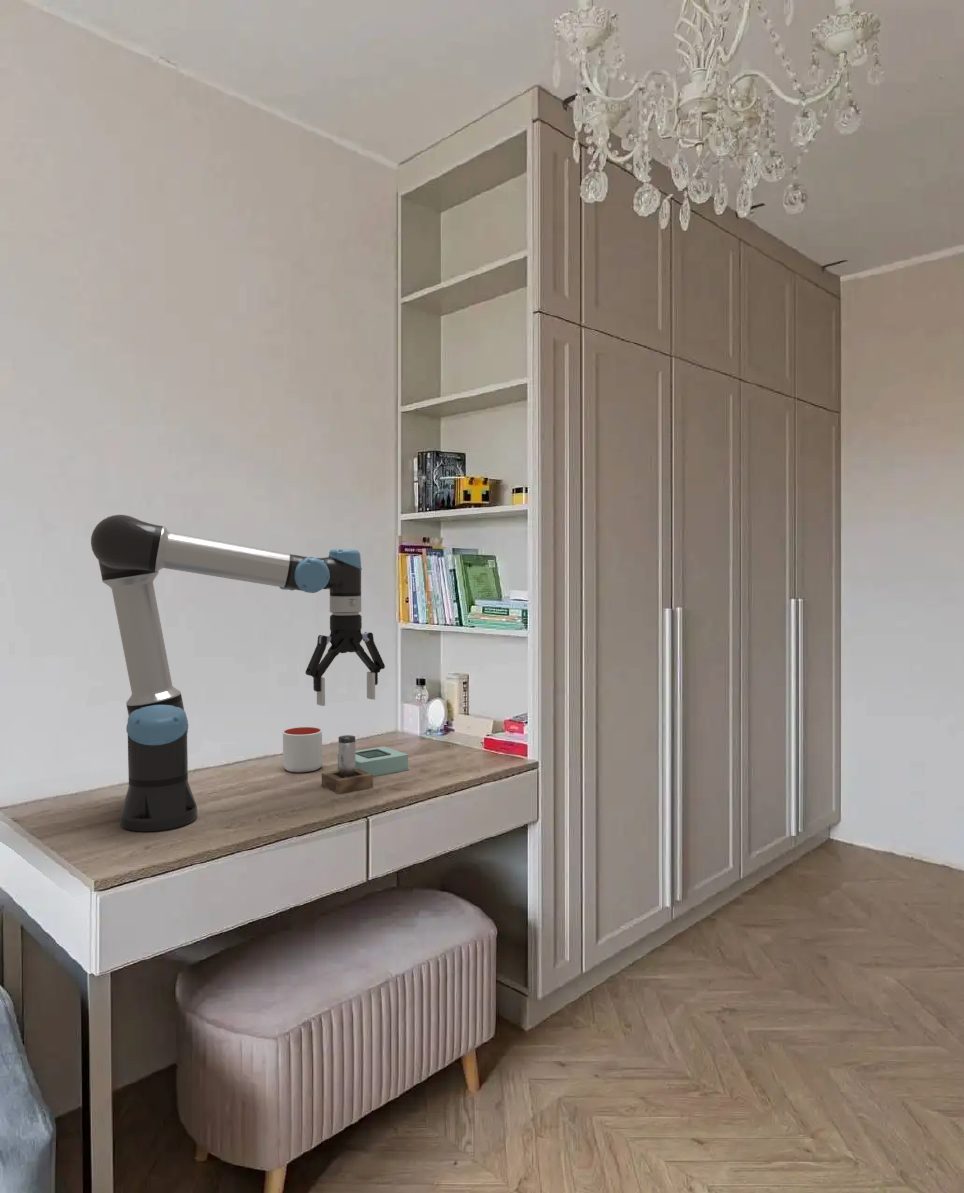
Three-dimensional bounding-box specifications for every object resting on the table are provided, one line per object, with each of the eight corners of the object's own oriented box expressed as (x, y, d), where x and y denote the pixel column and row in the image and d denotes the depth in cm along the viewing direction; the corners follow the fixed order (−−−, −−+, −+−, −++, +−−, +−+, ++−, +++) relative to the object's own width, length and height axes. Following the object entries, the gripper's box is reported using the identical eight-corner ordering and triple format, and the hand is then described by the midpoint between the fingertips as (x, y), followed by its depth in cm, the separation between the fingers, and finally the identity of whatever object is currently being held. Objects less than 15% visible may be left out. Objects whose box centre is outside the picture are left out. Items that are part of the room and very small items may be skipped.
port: (360, 778, 210) (360, 761, 209) (337, 768, 219) (337, 752, 219) (408, 769, 218) (408, 753, 218) (384, 760, 228) (383, 745, 228)
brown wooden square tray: (339, 793, 197) (339, 780, 196) (321, 785, 204) (321, 773, 204) (373, 787, 202) (372, 774, 202) (354, 779, 209) (354, 767, 209)
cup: (327, 764, 224) (326, 727, 224) (315, 774, 214) (315, 735, 214) (290, 763, 225) (290, 726, 225) (277, 773, 215) (277, 734, 215)
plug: (343, 789, 200) (343, 739, 199) (335, 785, 203) (335, 736, 203) (358, 786, 203) (358, 737, 202) (350, 783, 206) (350, 734, 205)
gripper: (305, 617, 190) (306, 709, 191) (398, 612, 206) (398, 698, 207) (290, 615, 196) (291, 705, 197) (382, 610, 212) (382, 694, 213)
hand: (346, 701), depth 202 cm, fingers open, 13 cm apart
